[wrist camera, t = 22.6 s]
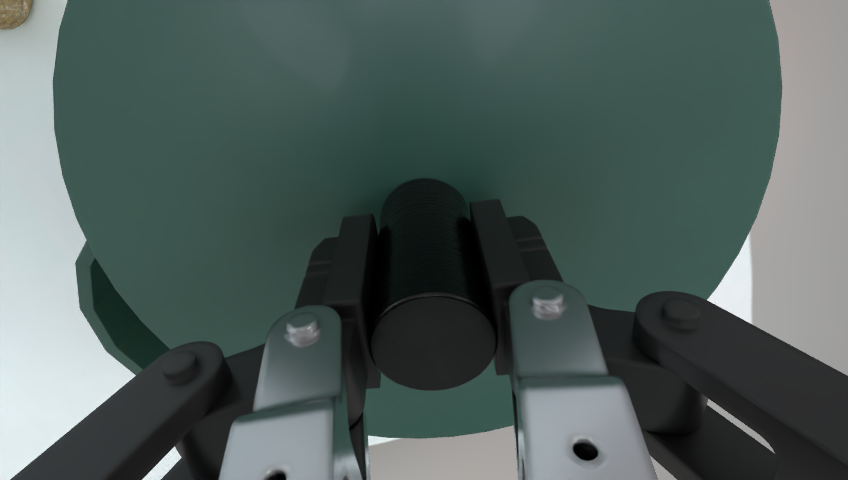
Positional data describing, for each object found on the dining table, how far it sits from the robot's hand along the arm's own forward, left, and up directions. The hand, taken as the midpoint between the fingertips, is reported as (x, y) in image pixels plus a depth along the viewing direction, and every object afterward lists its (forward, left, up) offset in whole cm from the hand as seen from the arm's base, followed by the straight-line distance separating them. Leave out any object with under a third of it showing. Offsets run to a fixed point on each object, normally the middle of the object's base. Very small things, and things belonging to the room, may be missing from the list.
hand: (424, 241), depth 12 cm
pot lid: (0, 0, -2) cm, 2 cm away
